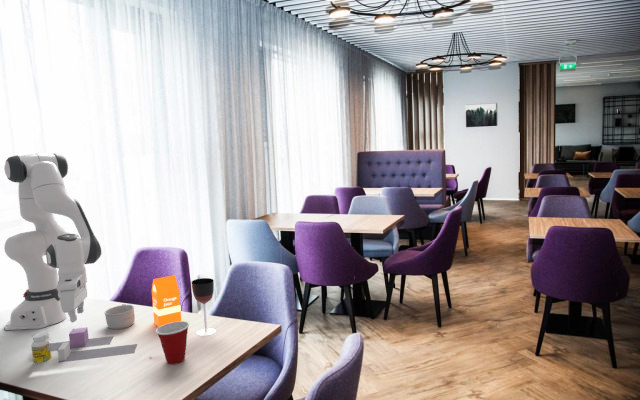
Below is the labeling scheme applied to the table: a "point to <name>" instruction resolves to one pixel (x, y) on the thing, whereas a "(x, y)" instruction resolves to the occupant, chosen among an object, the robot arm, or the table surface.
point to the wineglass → (203, 299)
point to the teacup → (120, 316)
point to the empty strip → (92, 352)
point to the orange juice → (166, 300)
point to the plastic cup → (173, 340)
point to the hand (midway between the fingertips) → (77, 316)
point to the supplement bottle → (40, 348)
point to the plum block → (78, 337)
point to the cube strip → (89, 344)
